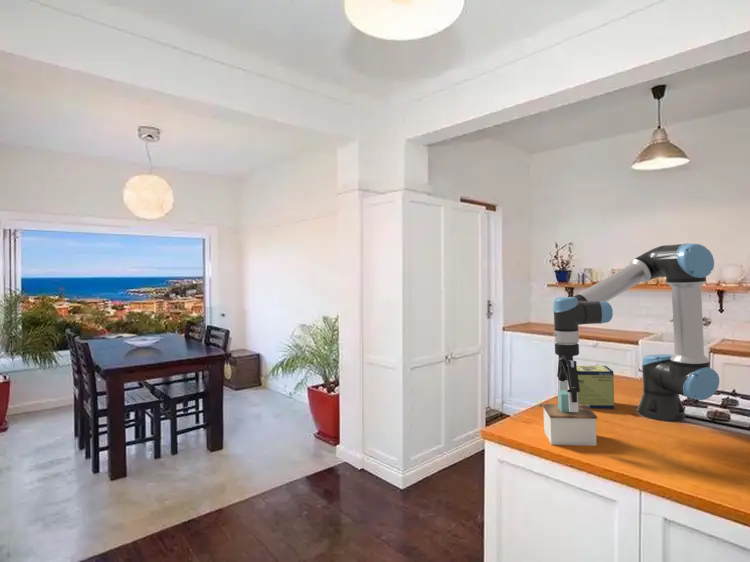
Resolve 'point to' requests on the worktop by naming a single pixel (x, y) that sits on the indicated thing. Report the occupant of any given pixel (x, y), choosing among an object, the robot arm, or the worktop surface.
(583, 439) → the box
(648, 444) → the worktop surface
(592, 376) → the protein box
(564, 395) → the block
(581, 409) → the lid
